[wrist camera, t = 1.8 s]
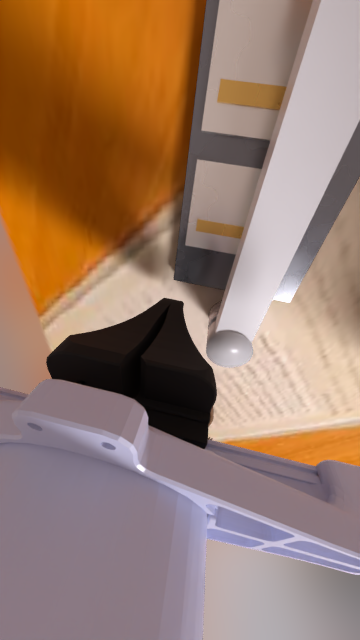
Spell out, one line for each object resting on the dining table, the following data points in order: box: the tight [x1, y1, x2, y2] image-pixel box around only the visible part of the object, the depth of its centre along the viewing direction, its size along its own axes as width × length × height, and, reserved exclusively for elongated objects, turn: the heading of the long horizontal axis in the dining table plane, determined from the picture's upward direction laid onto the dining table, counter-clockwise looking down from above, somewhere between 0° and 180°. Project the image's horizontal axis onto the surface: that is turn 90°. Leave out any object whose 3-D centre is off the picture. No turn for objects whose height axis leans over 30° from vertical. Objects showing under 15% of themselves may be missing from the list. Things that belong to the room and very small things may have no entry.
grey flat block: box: [174, 0, 360, 329], centre depth 10 cm, size 8×15×2 cm, turn 173°
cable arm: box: [206, 0, 360, 367], centre depth 8 cm, size 16×3×2 cm, turn 172°
